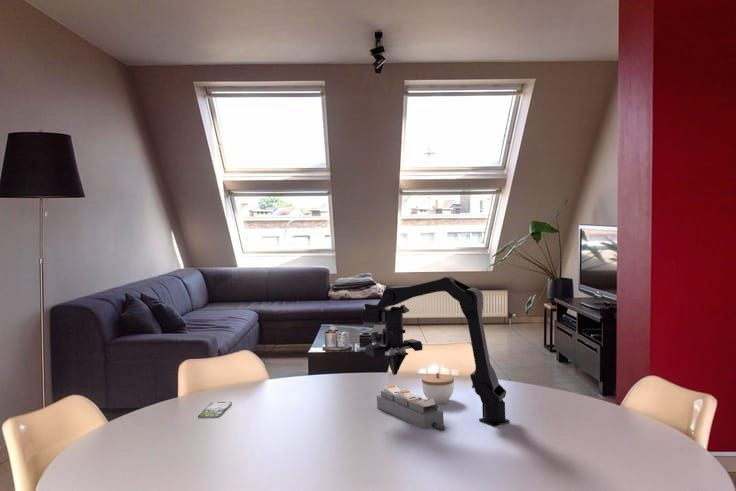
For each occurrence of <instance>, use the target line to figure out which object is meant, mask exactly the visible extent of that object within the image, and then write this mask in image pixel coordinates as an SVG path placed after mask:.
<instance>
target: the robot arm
mask: <svg viewBox="0 0 736 491" xmlns="http://www.w3.org/2000/svg"><path fill="white" fill-rule="evenodd" d="M442 291H445V292H446V293H447V294H448V295H450V296H451V298H453V299H454V300H455V301H457V302H458V303H459V306H460V309H461V311H462V314H463V316H464V318H465V319H466V321H467V325H468V331H469V332H468V333H469V337H470V342H471V350H472V354H473V355H472V356H473V359H474V365H475V368H474V369H475V370H474V371H473V372H472V373H470V375H469V376H470V380H471V382H472V385H471V388H472V389H473V390H474V392H475V394H476V395H477V396H478V397H479V398H480V401H481V404H482V405H481V406H482V407H481V410H482V411H481V412H482V417H481V418H479V419H478V421H479V422H482V423H486V424H487V425H490V426H492V427H495V426H499V425H503V424H507V423H509V422H510V419H507V418H506V401H504V399H505V398H506V396H507V390H506V389H505V388H504V387H503V386H502V385H501V384H500V382H499V379H498V377H497V373H496V371H495V370H494V367H493V366H492V364H491V361H490V356H489V349H488V345H487V340H486V339H487V338H486V333H485V328H484V322H483V312H484V295H483V292H482V291H481V290H480V289H478V288H475V287H471V286H469V285H468V284H465V283H464V282H461V281H459V280H457V279H456V278H454V277H453V276H450V275H448V276H447V275H446V276H444V277H442V278H439V279H435V280H431V281H426V282H421V283H418V284H414V285H395V286H391V287H387V288H385V289H384V290H383V292H382V294H381V295H382V296H381V299H380V300H379V301H378V303H370V302H366V303H364V307H363V309H362V312H361V313H362V314H361V316H360V318H361V322H362V324H364V325H373V326H374V325H375V326H382V325H383V323H384V328H382V333H379V332H378V331H374V332H371V333H370V342H371V343H372V344H368V345H366V346H365V349H364V354H365V355H367V356H370V357H372V358H379V357H385V358H386V360H387V363H388V365H389V368H390V370H391V374H392V375H393V376H396V375H397V374H398V372H399V371H400V367H401V365H402V364H403V362H404V360H405V359H406V356H408V355H409V352H406V351H407V350H409V349H413V351H415V352H418V351H423V350H424V349H423V347H424V346H423V343H422V341H421V340H417V339H414V338H413V339H411V338H410V339H404V334H406V329H404V314H406V313H409V312H410V309H409V308H408V307H406V305H405V304H402V303H404V302H406V301H409V300H410V299H411V300H412V299H413V298H416V297H419V296H420V297H421V296H425V295H429V294H432V293H433V294H434V293H438V292H442ZM399 304H401V305H400V306H397V305H399ZM395 305H396V306H395ZM389 307H390V308H389ZM374 343H375V344H374Z"/></svg>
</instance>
